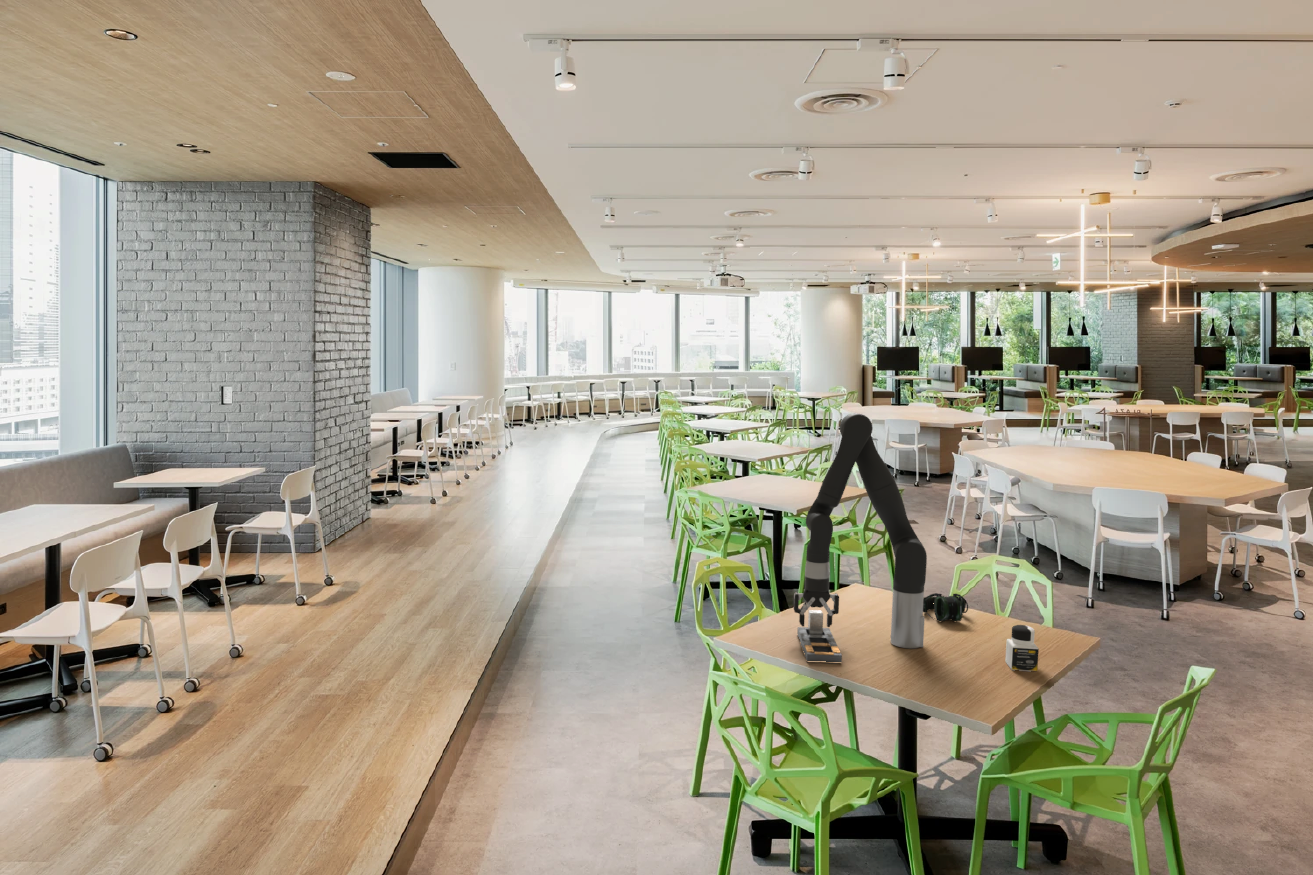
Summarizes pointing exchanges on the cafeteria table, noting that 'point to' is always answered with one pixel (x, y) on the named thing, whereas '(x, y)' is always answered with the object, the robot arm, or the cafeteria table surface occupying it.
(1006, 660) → the medicine bottle
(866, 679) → the cafeteria table surface
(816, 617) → the steel block
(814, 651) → the slotted rack
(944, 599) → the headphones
